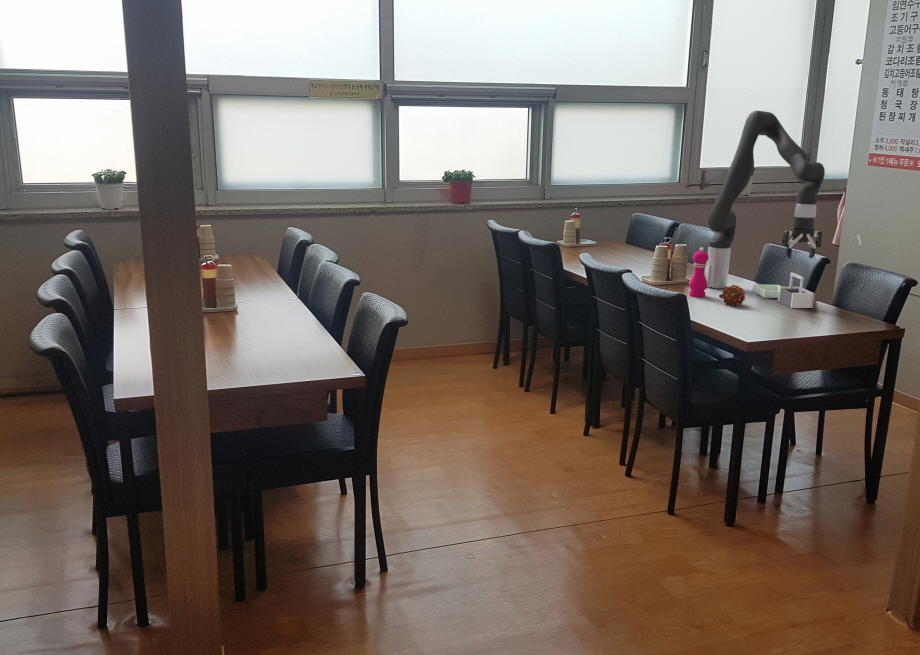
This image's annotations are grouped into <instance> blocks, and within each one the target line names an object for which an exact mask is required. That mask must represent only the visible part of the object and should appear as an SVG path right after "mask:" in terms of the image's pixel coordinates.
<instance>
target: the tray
mask: <svg viewBox="0 0 920 655" xmlns="http://www.w3.org/2000/svg"><path fill="white" fill-rule="evenodd" d="M780 287H782V286H781V285H779V284H752V289H751V292H752V291H753V293H754V294H756V295H757V294H758V296H759V295H760V296H759V297H761V298H762V299H764V298H778V299H779V291H780ZM778 299H777V300H778Z"/></svg>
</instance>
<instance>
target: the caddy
mask: <svg viewBox="0 0 920 655" xmlns="http://www.w3.org/2000/svg"><path fill="white" fill-rule="evenodd" d="M794 278H796V279H798V280H800V281H799V287H800V288H799V289H792V287H793V281H794ZM804 280H805V277H803V276H801V275H799V274H798V273H795V272H790V278H789V286H788V287H789V289H781V294H780V302H781V303H780V302H779V303H780V304H782V303H783V304H782V305H784V306H785V307H787V306H788V308H789V307H791V299H792V293H806V292H804V291H802V288H803V287H804Z"/></svg>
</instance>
